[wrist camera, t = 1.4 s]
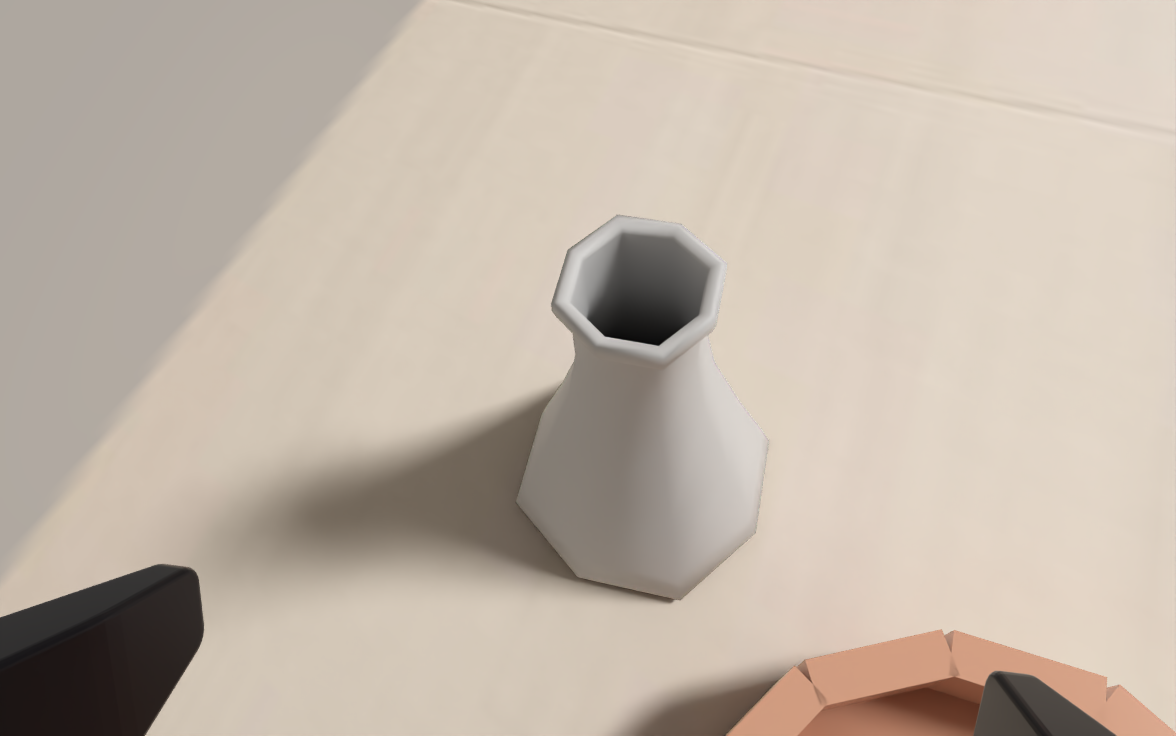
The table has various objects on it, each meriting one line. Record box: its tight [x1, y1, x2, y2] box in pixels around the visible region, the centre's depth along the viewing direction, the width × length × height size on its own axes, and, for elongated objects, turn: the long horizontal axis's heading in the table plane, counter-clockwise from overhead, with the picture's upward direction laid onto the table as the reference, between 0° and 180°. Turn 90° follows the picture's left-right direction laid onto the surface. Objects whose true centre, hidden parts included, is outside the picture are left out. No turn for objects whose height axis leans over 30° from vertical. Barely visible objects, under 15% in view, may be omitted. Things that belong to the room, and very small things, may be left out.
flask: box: [516, 215, 769, 600], centre depth 19 cm, size 7×7×10 cm
